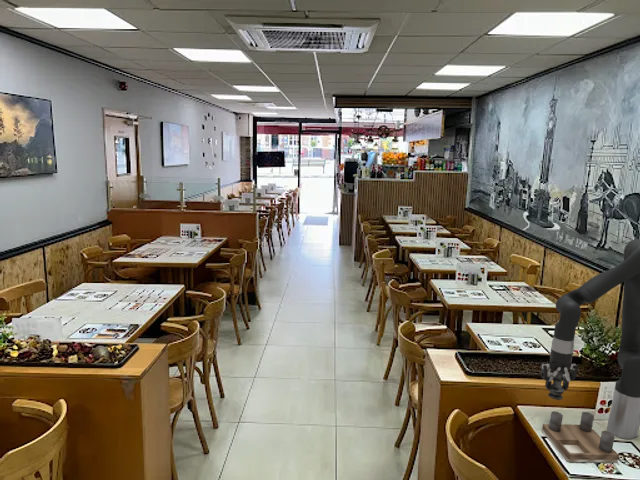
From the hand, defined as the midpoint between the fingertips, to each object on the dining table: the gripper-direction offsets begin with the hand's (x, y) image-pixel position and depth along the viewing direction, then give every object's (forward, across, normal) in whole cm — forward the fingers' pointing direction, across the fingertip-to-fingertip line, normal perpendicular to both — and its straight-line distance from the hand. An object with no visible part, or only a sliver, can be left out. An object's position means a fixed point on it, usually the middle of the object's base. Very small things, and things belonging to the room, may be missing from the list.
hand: (556, 389), depth 189 cm
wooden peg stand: (+15, -2, +15) cm, 21 cm away
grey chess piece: (+3, 0, 0) cm, 3 cm away
